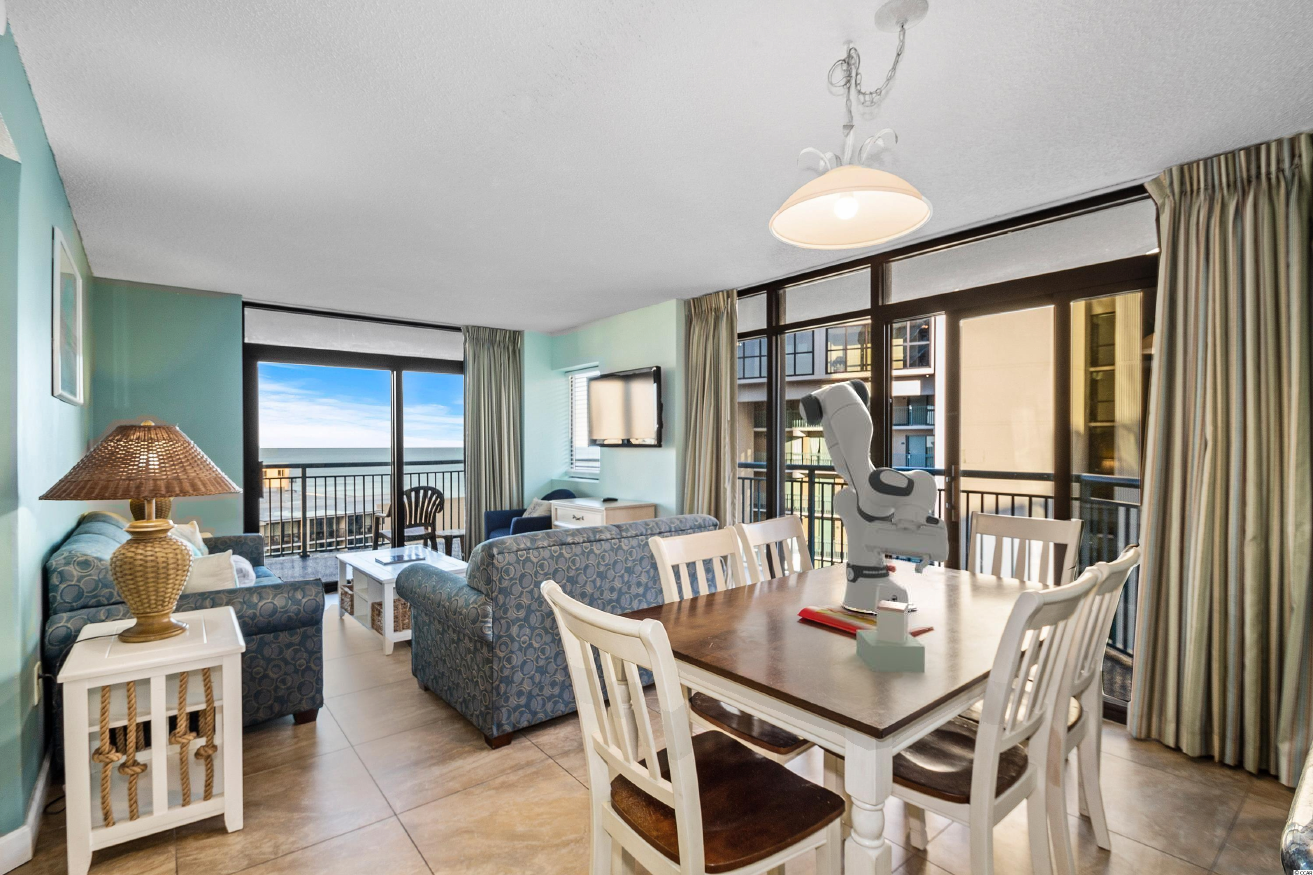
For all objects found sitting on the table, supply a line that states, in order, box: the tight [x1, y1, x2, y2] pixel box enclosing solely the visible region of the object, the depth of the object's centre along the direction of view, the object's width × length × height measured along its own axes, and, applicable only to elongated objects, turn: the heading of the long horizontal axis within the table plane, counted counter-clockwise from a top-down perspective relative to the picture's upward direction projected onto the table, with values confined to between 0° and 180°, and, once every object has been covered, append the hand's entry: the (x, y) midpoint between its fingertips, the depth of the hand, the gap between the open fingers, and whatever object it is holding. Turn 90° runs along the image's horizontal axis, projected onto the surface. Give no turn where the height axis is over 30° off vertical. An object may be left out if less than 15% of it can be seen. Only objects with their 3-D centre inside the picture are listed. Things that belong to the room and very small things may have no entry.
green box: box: [855, 629, 926, 673], centre depth 148 cm, size 12×12×6 cm
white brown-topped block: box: [876, 600, 909, 644], centre depth 148 cm, size 6×6×8 cm
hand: (898, 568), depth 152 cm, fingers open, 8 cm apart
